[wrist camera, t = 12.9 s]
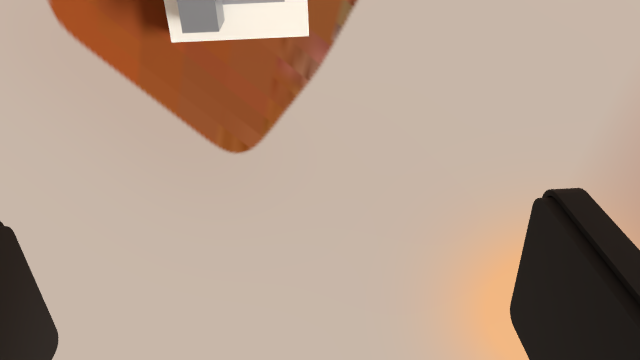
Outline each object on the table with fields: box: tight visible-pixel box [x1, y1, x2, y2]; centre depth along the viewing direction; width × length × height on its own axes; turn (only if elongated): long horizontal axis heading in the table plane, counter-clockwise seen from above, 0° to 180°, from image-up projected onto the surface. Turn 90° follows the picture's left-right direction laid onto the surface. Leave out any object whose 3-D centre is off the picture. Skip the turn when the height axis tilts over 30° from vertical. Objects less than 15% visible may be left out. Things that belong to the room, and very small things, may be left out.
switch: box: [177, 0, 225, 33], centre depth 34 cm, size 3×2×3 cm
